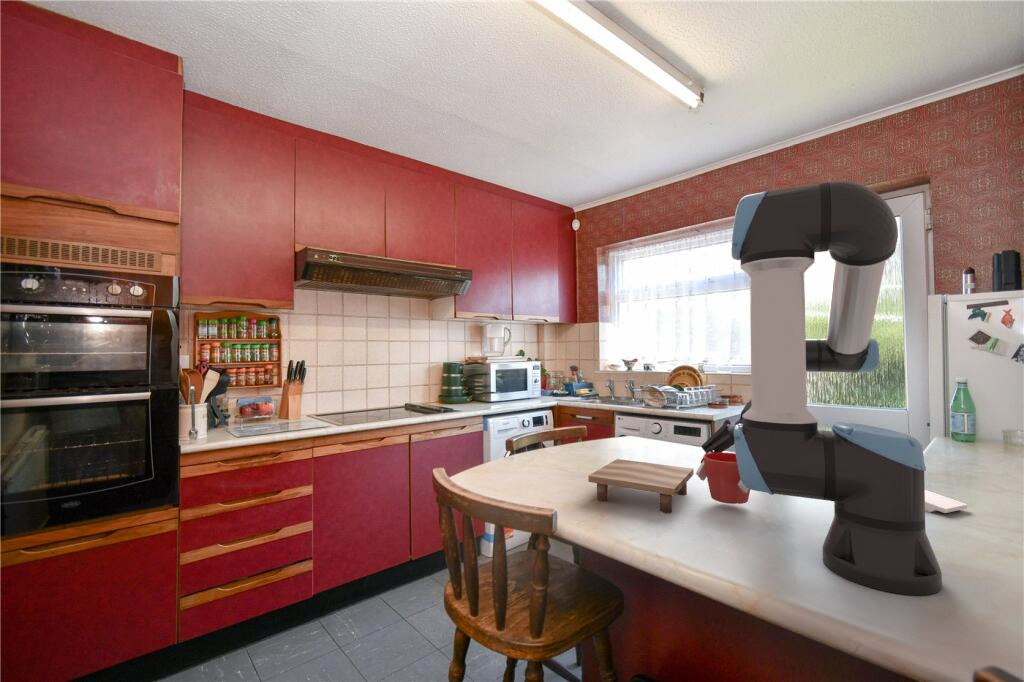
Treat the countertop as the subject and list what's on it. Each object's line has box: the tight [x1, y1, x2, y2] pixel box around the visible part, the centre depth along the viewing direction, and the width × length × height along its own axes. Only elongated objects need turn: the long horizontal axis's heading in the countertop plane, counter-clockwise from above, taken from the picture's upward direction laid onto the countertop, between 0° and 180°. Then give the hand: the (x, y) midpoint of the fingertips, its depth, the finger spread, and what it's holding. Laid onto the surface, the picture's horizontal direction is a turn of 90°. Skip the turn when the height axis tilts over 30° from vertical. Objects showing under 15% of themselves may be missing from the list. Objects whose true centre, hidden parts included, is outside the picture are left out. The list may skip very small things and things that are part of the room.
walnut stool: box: [587, 458, 695, 514], centre depth 114 cm, size 20×20×6 cm
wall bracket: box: [925, 489, 968, 514], centre depth 115 cm, size 10×7×28 cm
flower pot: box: [702, 452, 751, 505], centre depth 107 cm, size 11×11×10 cm
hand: (719, 482), depth 105 cm, fingers closed on flower pot, 10 cm apart
